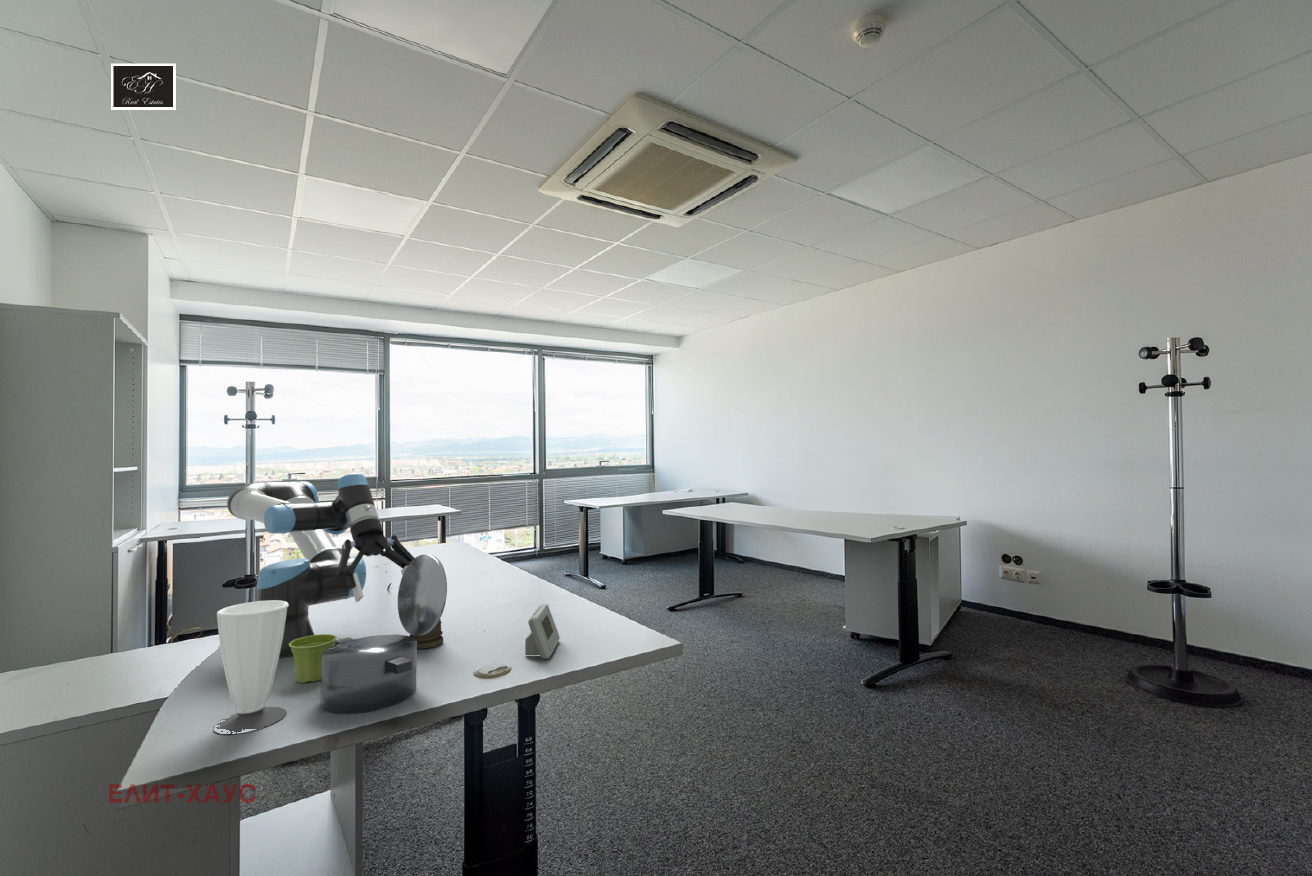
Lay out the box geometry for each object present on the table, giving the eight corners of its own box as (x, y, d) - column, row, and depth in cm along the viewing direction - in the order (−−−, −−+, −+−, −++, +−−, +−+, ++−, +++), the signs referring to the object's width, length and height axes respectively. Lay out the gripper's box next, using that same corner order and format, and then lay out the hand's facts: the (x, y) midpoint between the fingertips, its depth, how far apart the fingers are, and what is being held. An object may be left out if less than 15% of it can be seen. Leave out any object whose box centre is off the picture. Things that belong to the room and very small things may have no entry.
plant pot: (345, 673, 130) (345, 636, 131) (308, 688, 121) (309, 648, 122) (315, 669, 133) (316, 632, 134) (278, 683, 124) (278, 644, 125)
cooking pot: (296, 694, 118) (297, 647, 119) (380, 669, 133) (381, 627, 133) (357, 728, 102) (358, 673, 103) (444, 695, 117) (445, 647, 117)
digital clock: (547, 662, 136) (547, 618, 137) (513, 660, 138) (513, 617, 138) (570, 641, 152) (570, 602, 153) (539, 640, 154) (539, 601, 154)
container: (434, 648, 146) (432, 579, 147) (401, 649, 147) (400, 580, 148) (449, 639, 155) (448, 574, 156) (418, 639, 156) (417, 575, 157)
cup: (263, 733, 101) (266, 613, 102) (196, 736, 100) (200, 616, 101) (299, 706, 112) (301, 599, 113) (239, 709, 111) (242, 600, 112)
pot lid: (405, 551, 134) (413, 552, 136) (391, 628, 131) (400, 628, 132) (448, 558, 123) (456, 558, 125) (434, 642, 120) (443, 641, 122)
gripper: (321, 520, 139) (341, 595, 130) (414, 514, 159) (437, 579, 151) (309, 536, 142) (329, 610, 134) (402, 528, 162) (424, 592, 154)
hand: (386, 594), depth 142 cm, fingers open, 13 cm apart
